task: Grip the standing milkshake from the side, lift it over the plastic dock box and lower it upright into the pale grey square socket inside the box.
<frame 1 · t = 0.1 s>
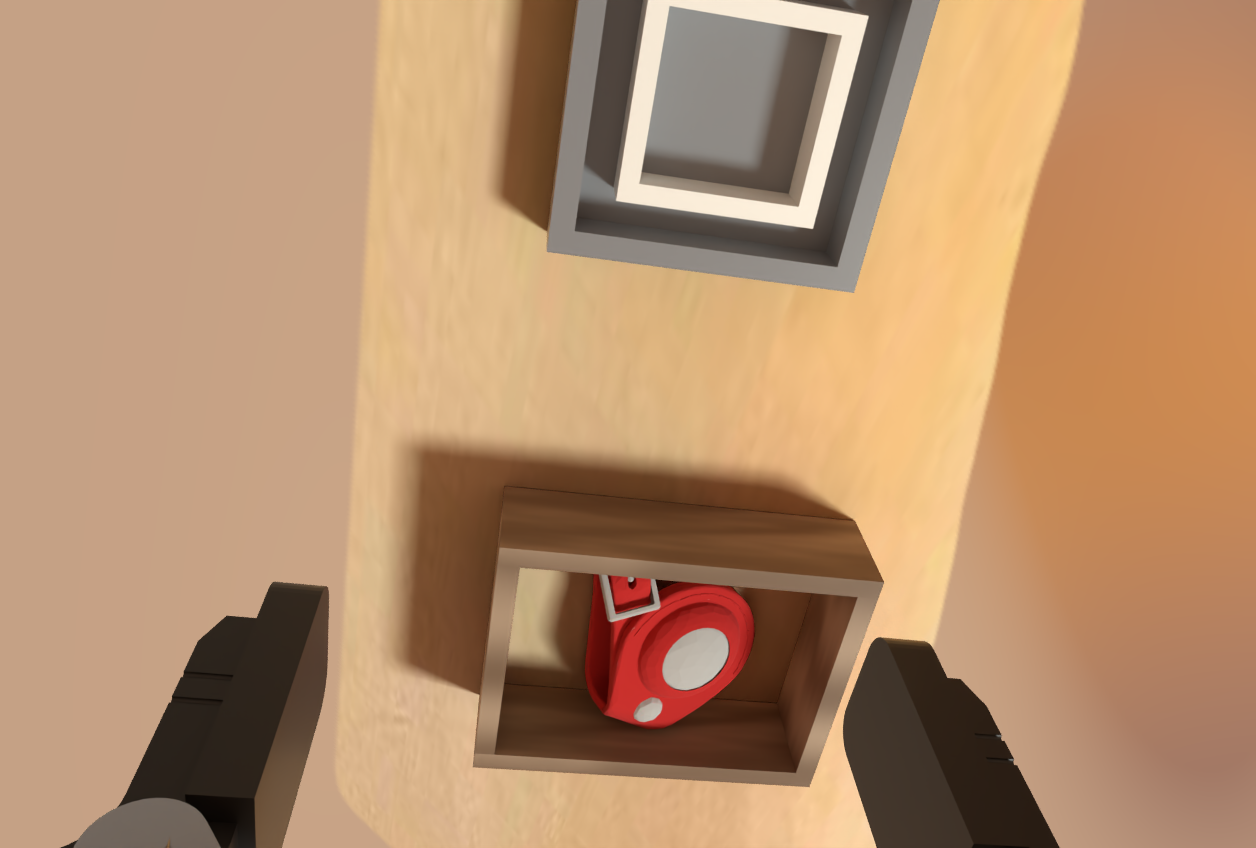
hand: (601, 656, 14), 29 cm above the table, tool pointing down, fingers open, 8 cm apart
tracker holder: (661, 603, 51), on the table, touching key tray
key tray: (659, 611, 51), on the table
dock box: (727, 99, 39), on the table
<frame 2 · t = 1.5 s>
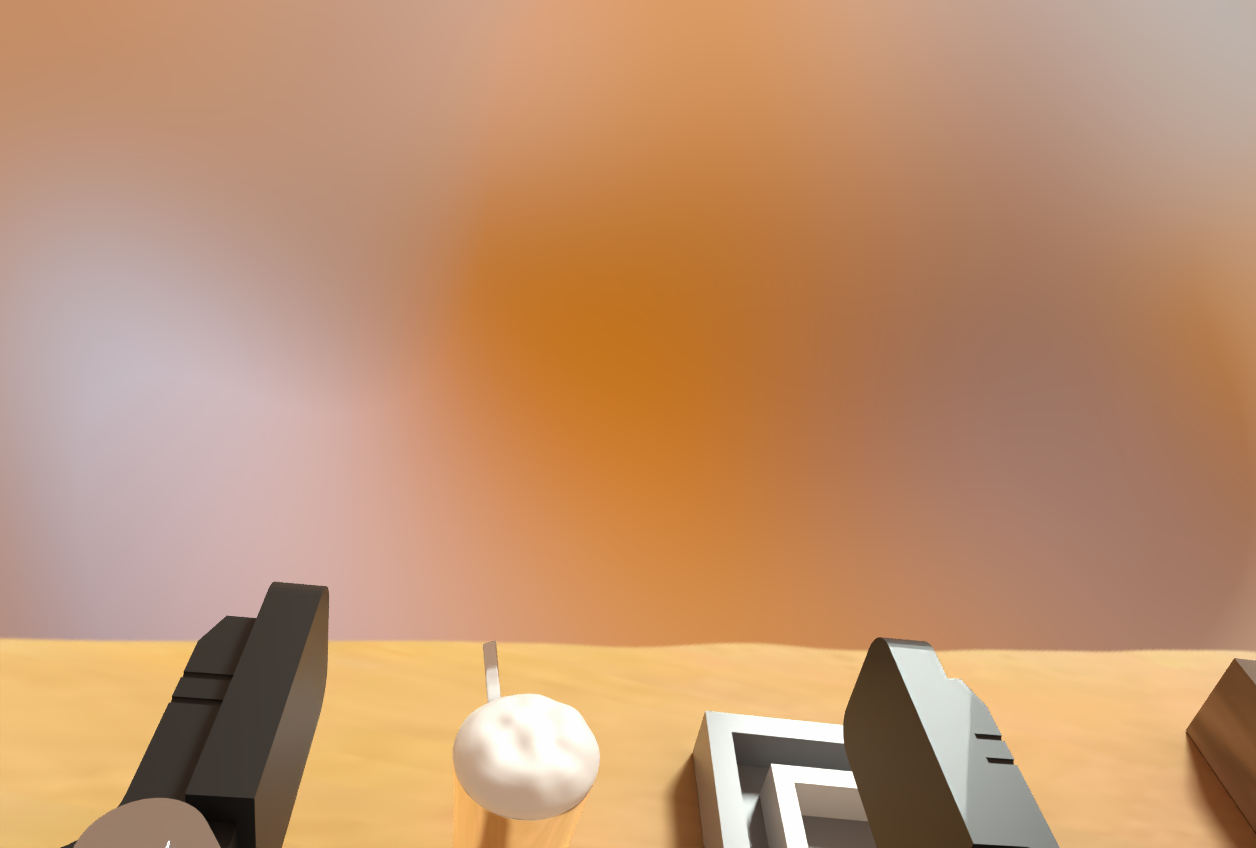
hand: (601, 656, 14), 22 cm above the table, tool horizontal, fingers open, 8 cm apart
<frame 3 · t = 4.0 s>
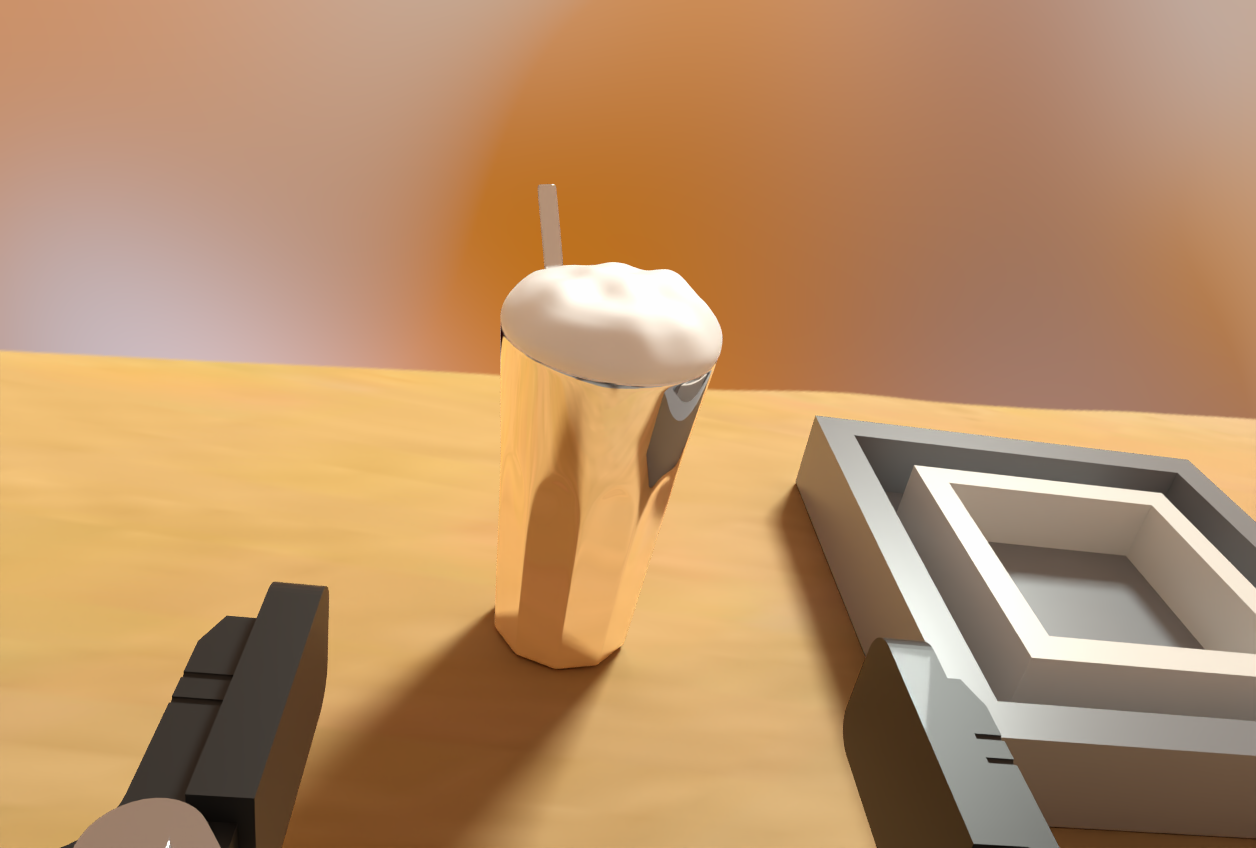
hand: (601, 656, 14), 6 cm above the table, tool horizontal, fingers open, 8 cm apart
milkshake: (551, 619, 24), on the table
dock box: (1070, 633, 27), on the table
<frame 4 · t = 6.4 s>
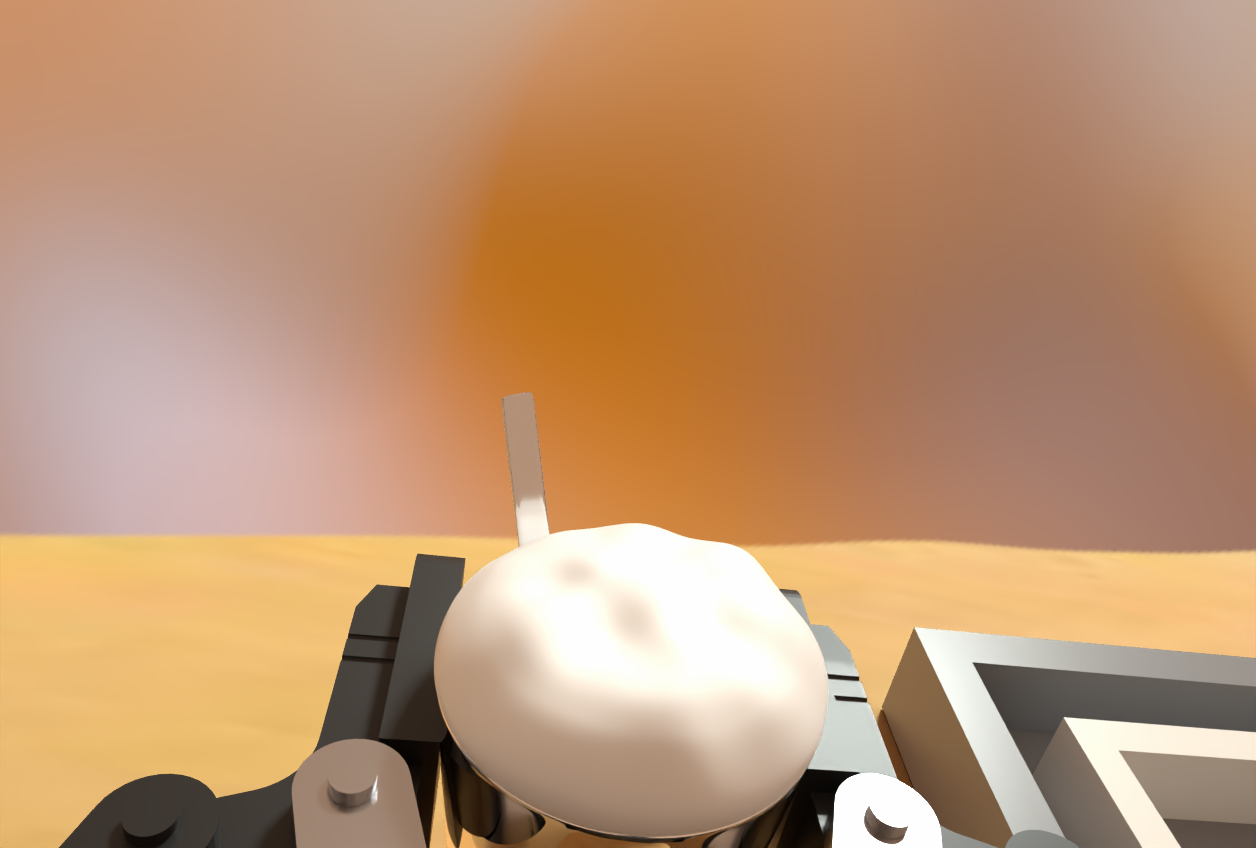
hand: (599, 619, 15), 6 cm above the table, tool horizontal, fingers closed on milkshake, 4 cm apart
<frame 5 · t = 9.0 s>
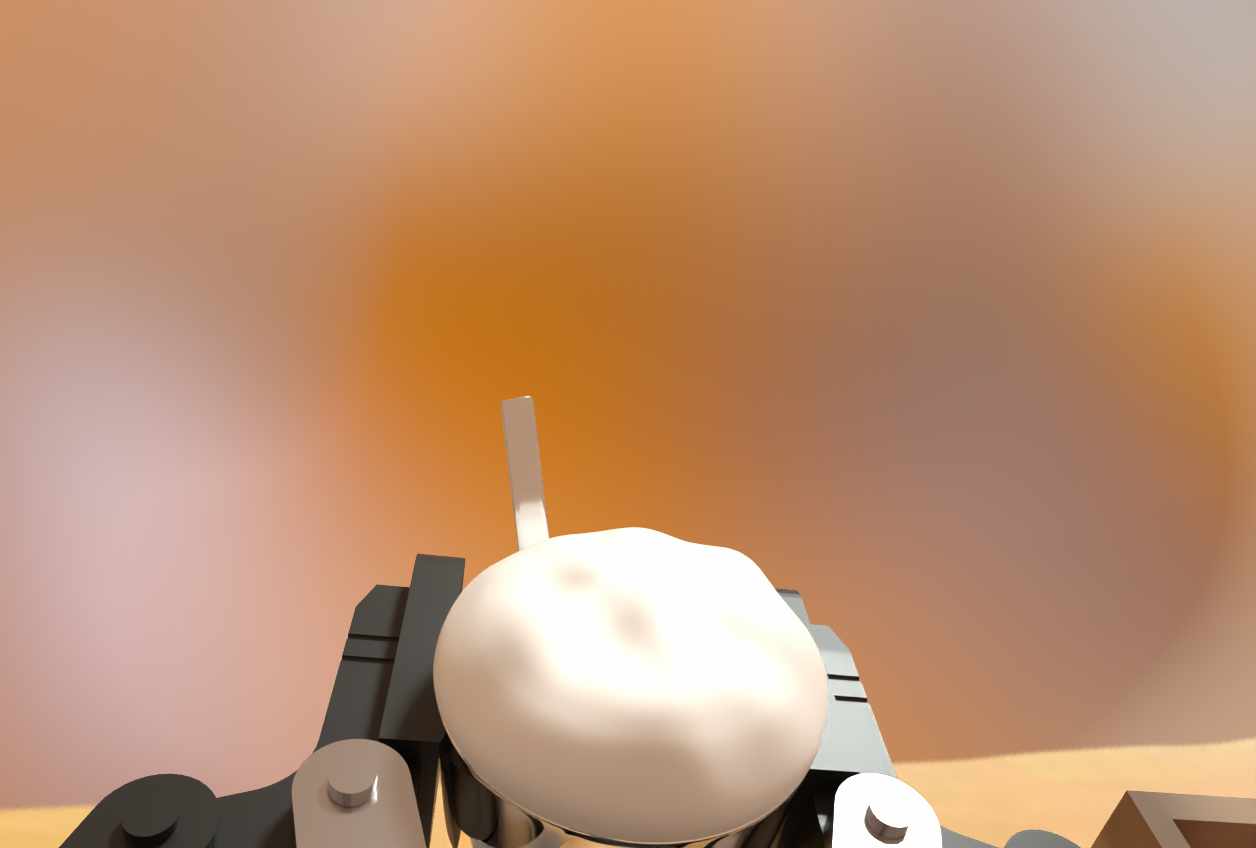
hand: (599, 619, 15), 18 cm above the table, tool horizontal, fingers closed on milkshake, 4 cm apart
when the fingers open (8 cm above the table, at t = 11.6 s): milkshake drops 2 cm, resting on dock box.
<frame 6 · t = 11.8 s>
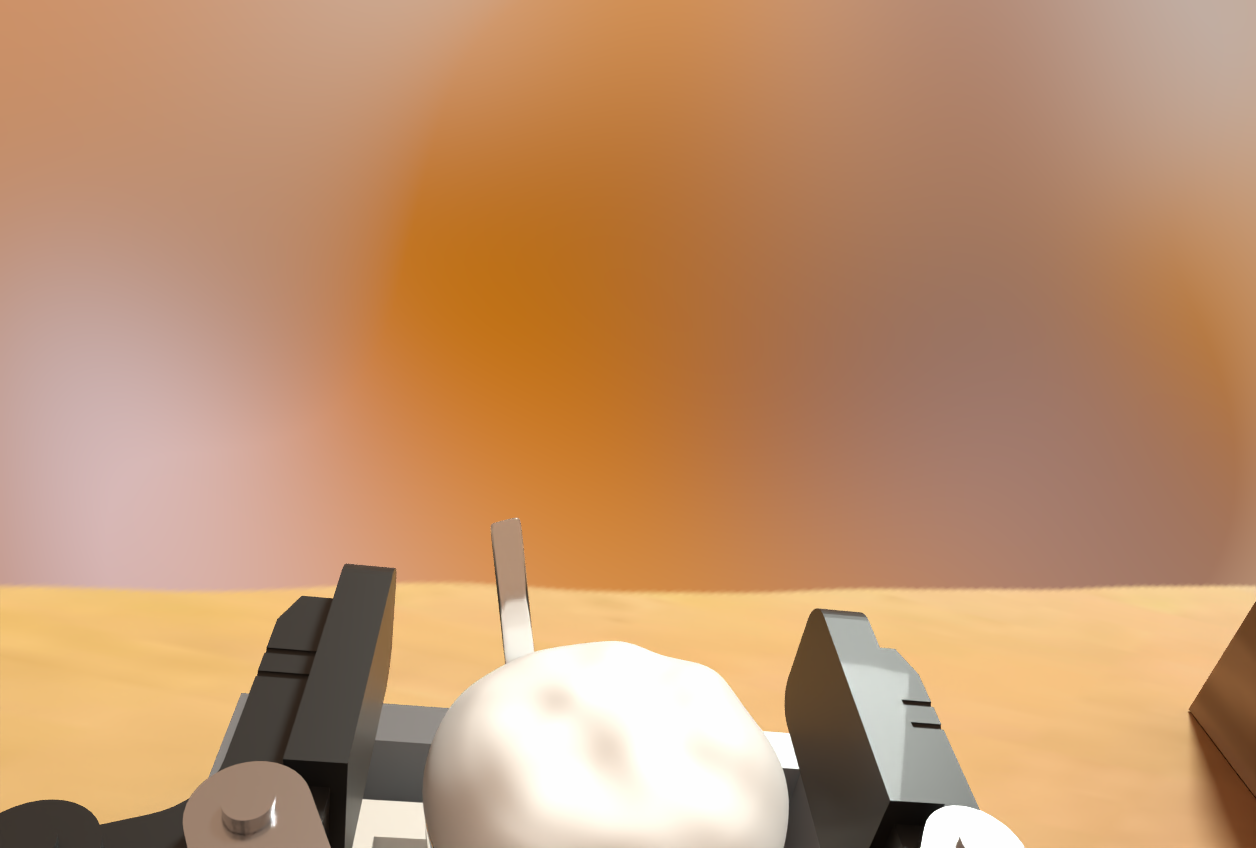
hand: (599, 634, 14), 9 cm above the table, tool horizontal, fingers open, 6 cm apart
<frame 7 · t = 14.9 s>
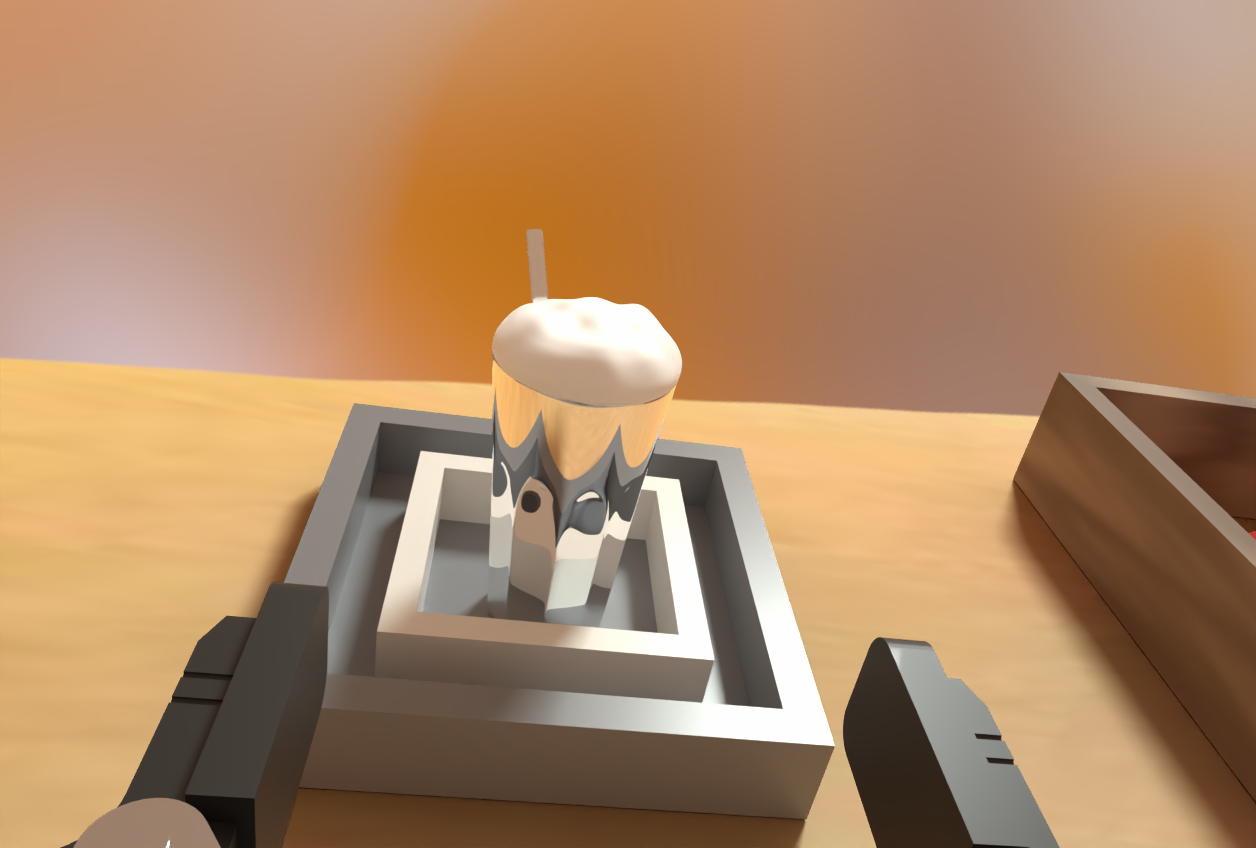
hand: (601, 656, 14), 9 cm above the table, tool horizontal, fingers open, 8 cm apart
milkshake: (537, 605, 27), resting on dock box
dock box: (539, 613, 28), on the table
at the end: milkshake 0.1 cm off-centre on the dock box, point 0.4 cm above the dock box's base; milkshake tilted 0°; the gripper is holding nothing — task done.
